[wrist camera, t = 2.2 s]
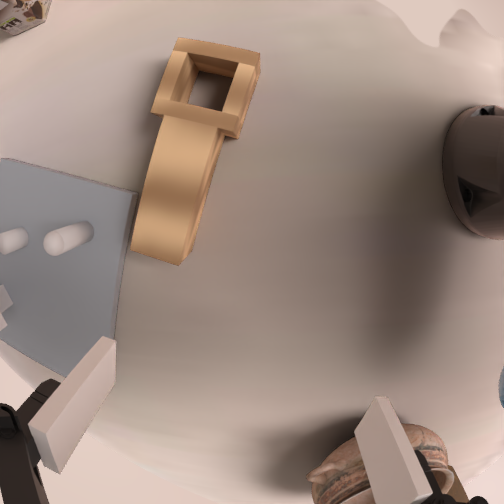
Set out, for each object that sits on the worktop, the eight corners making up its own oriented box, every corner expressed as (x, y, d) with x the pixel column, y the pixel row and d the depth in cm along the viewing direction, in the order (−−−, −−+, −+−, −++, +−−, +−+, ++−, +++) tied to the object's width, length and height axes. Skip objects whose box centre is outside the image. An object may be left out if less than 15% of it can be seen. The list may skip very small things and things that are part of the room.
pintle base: (3, 157, 28) (-46, 159, 19) (138, 193, 29) (94, 201, 20) (-1, 330, 34) (-36, 356, 26) (110, 389, 35) (83, 432, 26)
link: (191, 57, 25) (178, 37, 20) (260, 72, 26) (259, 53, 21) (138, 234, 30) (117, 245, 25) (203, 254, 30) (192, 270, 25)
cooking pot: (264, 460, 37) (263, 528, 25) (349, 374, 33) (377, 450, 21) (381, 487, 40) (396, 537, 28) (458, 419, 35) (490, 469, 23)
